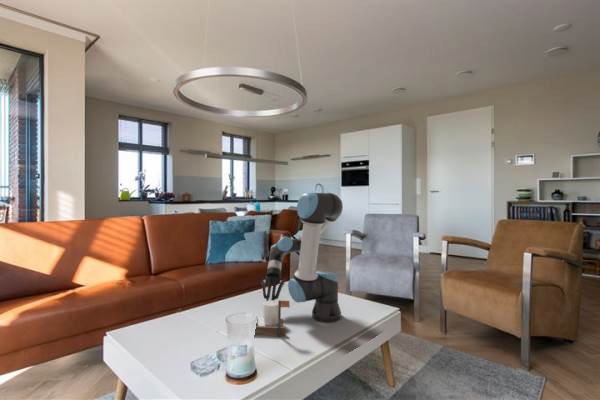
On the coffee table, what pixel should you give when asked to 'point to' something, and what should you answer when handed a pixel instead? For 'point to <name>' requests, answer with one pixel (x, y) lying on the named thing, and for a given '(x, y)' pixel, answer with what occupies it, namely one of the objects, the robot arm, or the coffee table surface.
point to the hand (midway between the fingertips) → (268, 311)
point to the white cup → (270, 312)
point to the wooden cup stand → (273, 330)
